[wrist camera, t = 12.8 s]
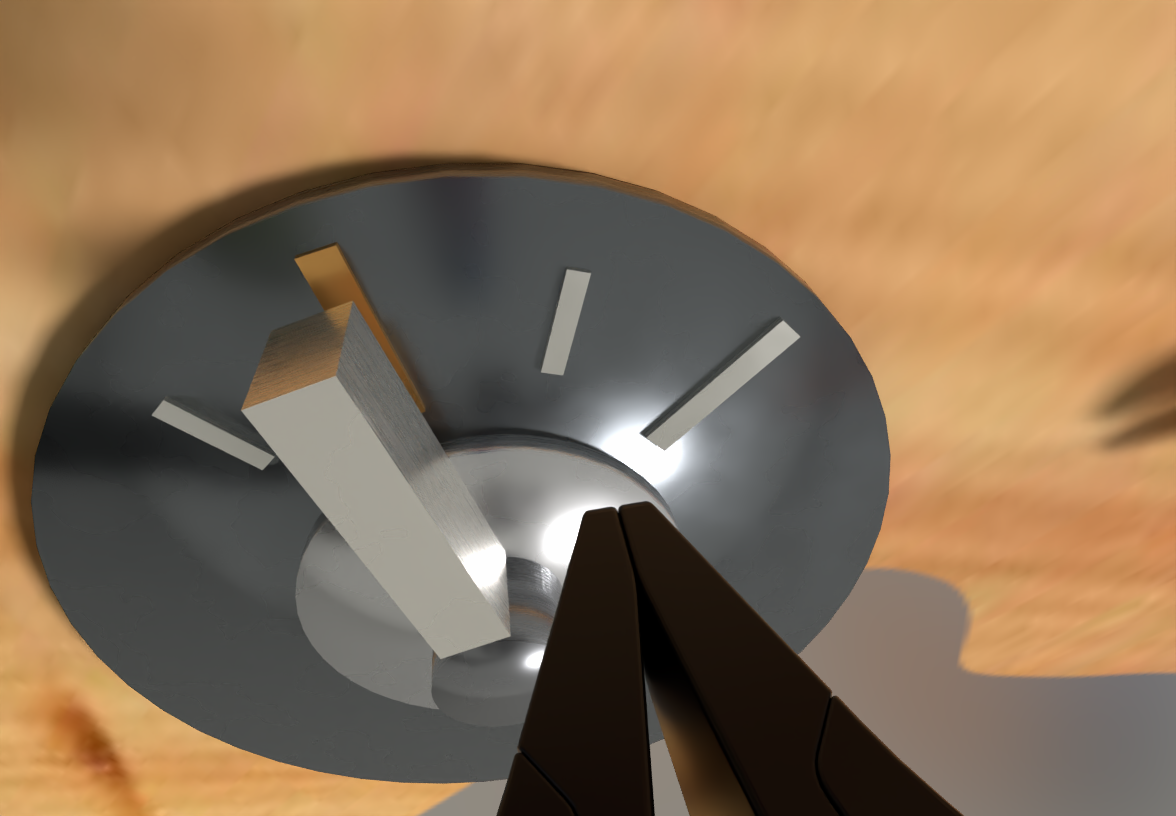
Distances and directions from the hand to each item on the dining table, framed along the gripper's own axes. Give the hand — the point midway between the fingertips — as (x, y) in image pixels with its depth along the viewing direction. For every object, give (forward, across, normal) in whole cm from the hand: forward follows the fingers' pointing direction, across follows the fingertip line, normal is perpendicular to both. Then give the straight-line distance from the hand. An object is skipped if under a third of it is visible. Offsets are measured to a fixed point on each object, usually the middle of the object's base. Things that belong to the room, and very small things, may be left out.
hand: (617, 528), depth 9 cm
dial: (+10, +3, +9) cm, 14 cm away
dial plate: (+11, +3, +12) cm, 16 cm away
